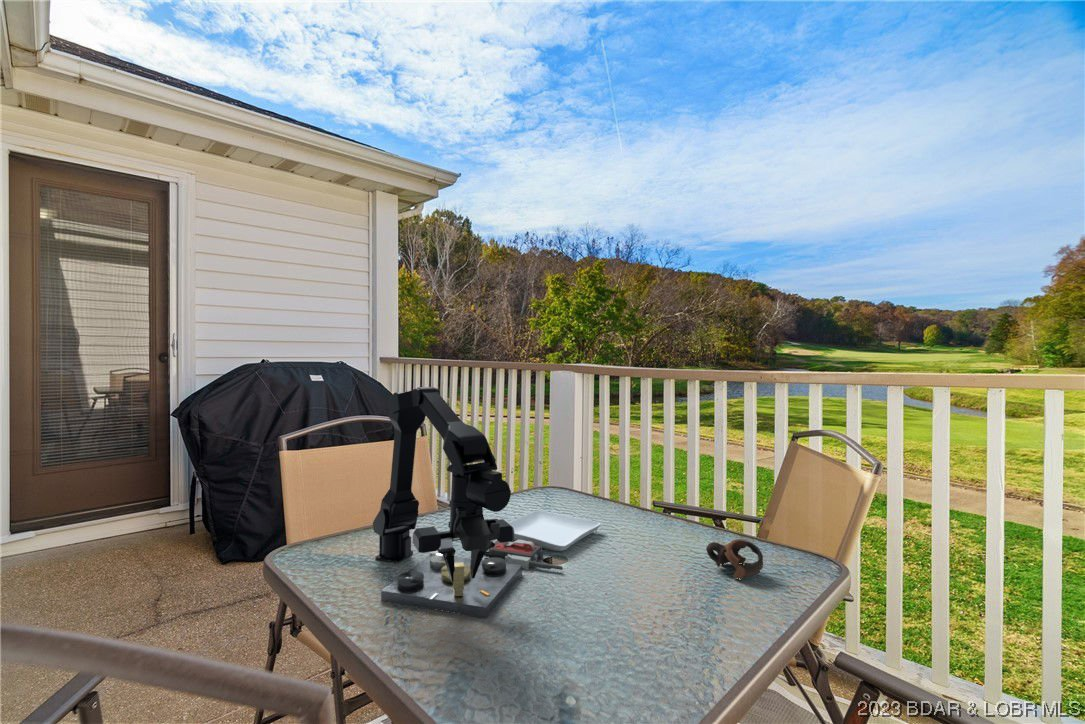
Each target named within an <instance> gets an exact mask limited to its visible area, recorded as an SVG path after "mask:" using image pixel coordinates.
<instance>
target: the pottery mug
mask: <svg viewBox="0 0 1085 724" xmlns="http://www.w3.org/2000/svg"><path fill="white" fill-rule="evenodd" d="M747 547H748V548H749V549H750V550H751V552H752V553H754V554H756V555H757V557H758V559H757V561H755V562H747V558H746V557H745V556H742V555H741V554H739V552H740V550H741V549H745V548H747ZM705 550H706V553H707V555H708V557H709V558H710V559H711V560H712V561H713V562H715V564H716V566H717V567H718V568H719V567H721V565H720V564H724V563H725V564H727V563H728V562H729V563H730V564H731V565H732V566H733V567H734V569H735V572H734V573H733V579H735V578H738V579H739V578H740V579H742V580H743V579H744V578H749V577H753V576H756V575H758V574H759V573H761V571H762V570H763V567H764V556H763V553H762V551H761V549H760V548H759V547H758V545H756V544H754V543H753V542H751V541H748V540H745V539H740V538H739V539H738V538H737V539H733V540H732V541H730V542H729V543H727V544H721V543H719V542H715V541H714V542H710V543H708V544H707V546H706V549H705ZM714 551H715V552H716V553H717V554H716V553H715V552H714ZM739 563H742V564H744V565H740V564H739ZM725 564H724V565H725Z"/></svg>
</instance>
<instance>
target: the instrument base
mask: <svg viewBox="0 0 1085 724" xmlns="http://www.w3.org/2000/svg"><path fill="white" fill-rule="evenodd" d="M458 562H464V564H467V565H469V566H470V565H471V557H464V556H463V557H462V556H455V555H454V563H458ZM444 566H446V563H445V560H444V557H443V555H442V554H440V553H439V552H438V551H433V552H429V554H428V556H426V557H425V558H423V559H422V560H421V561H420V562H418V563H416V565H414V566H412V567H411V568H410V569H409V570H407V571H406V572H405V571H404V572H402V573H400V574H398V575H397V576H396V579H395V580H393V581H392V582H391V583H390V584H388V585H387V586H385V587H384V588H382V589H381V591H380V592H381V593H380V600H381V602H387V603H394V604H400V605H405V606H411V607H415V606H417V607H416V608H421V607H423V609H427V608H428V610H433V609H437V610H436V611H439V610H443V611H442V612H445V611H449V612H448V613H451V612H455V613H454V614H456V613H460V614H459V615H462V614H464V615H463V616H468V615H469V616H470V617H474V618H480V619H487V618H488V617H489V615H490V614H491V613H492V611H494V609H495V608H496V607H497V606H498V604H499V603H500V600H501V601H502V600H503V598H504V597H505V596H506V595H505V594H508V592H509V591H510V589H511V588H512V587H513V586H514V585H515V584H516V583H517V581H518V580H519V579H520V577H521V576H522V575H523V568H522V565H516V564H508V563H507V562H506V560H504V559H502V558H497V557H492V558H489V557H486V558H485V559H482V560H481V563H480V565H479V568H478V570H477V573H476V575H475V578H472V577H471V576H470V578H469V579H467V580H465V581H464V589H463V596H454V590H453V583H452V582H446V581H444V580H442V579H441V569H442V567H444ZM504 595H505V596H504ZM469 616H468V617H469Z"/></svg>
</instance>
